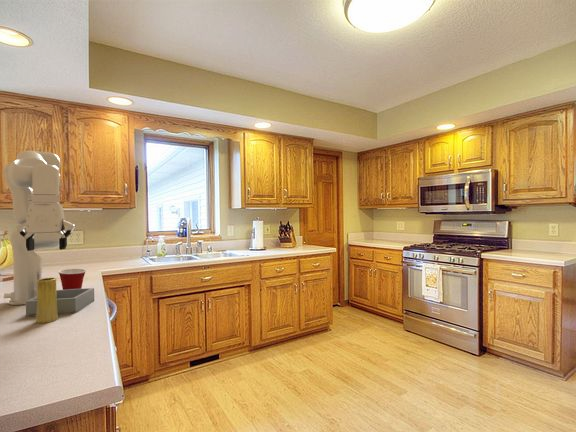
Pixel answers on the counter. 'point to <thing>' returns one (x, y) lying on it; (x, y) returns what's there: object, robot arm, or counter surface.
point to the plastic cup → (72, 278)
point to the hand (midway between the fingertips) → (46, 249)
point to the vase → (46, 300)
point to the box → (65, 301)
